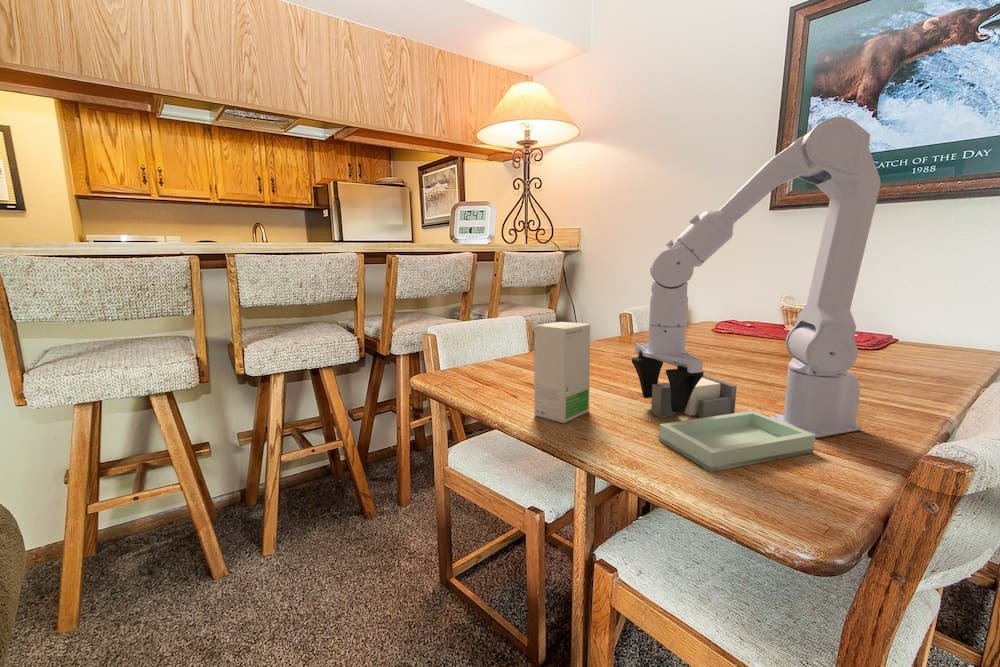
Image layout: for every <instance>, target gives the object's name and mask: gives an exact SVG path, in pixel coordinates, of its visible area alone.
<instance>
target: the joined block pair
mask: <svg viewBox="0 0 1000 667" xmlns="http://www.w3.org/2000/svg"><path fill="white" fill-rule="evenodd" d="M720 385H721V384H720V383H717V382H714V381H711V380H708V379H705V378H701V379H700V380H699V382H698V383H697V385H696V386H695V388H694V390H693V392H692V394H691V396H690V399H689V401H688V404H687V407H686V410H685V412H683V413H681V412H677V414H684V413H685V415H686V414H687V415H686V416H688V415H689V417H692V416H691V415H693V416H698V413H699V400H702V399H710V398H718V397H720ZM650 407H651V408H650V410H651V411H650V413H651V412H652V413H651V414H653V413H654V414H653V415H655V414H656V415H655V416H657V415H658V416H660V417H659V418H664V417H663V416H666V417H671V416H670V415H673V416H676V414H675V413H674V412H672V409H671V390H670V384H669V382H663V383H658V384H652V398H651V406H650ZM658 416H657V417H658Z"/></svg>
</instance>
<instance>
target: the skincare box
mask: <svg viewBox="0 0 1000 667" xmlns="http://www.w3.org/2000/svg"><path fill="white" fill-rule="evenodd" d="M533 335H534V336H533V338H534V342H533V344H534V346H533V347H534V348H533V349H534V350H533V353H534V354H533V356H534V358H533V360H534V362H533V363H534V364H533V368H534V373H533V375H534V385H533V386H534V388H533V390H534V394H533V395H534V396H533V397H534V399H533V400H534V404H533V406H534V407H533V408H534V409H533V412H534V414H533V415H534V416H535V417H539V418H542V419H545V420H549V421H553V422H556V423H560V424H565V423H568V422H570V421H572V420H575V419H577V418H578V417H581V416H583V415H585V414H587V413H590V378H591V377H590V376H591V375H590V374H591V373H590V372H591V371H590V369H591V368H590V366H591V363H590V362H591V360H590V359H591V324H590V323H585V322H584V323H583V322H569V321H558V322H557V321H556V322H549V323H547V322H546V323H541V324H535V325H534V326H533Z"/></svg>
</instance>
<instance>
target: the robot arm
mask: <svg viewBox="0 0 1000 667" xmlns="http://www.w3.org/2000/svg"><path fill="white" fill-rule="evenodd" d="M870 140H871V134H870V133H869V131H867V130H866V129H864V128H863V127H862V126H861V125H860V124H858V123H857V122H856V121H854V120H853V119H851V118H847V117H844V116H843V117H842V116H835V117H830V118H827V119H825V120H822V121H821V122H820V123H818V124H817V125H815V126H814V128H813V129H811V130H810V131H809V132H807V133H806V134H804V135H802V136H801V137H799V138H796V140H793V142H792V143H791V144H790V145H789V146H788V147H787V148H784V150H781V152H779V153H778V154H776V155H775V156H774V157H772V158H770V159H769V160H768V161H767V162H764V164H763V165H762V166H761V167H760V168H759V169H758V170H757V171H756V172H755V173H754V174H753V175H752V176H751V177H750V178H749V179H748V180H747V181H746V182H745V183H744V184H743V185H742V186H741V187H740V188H739V189H737V191H736V192H735V193H734V194H733V195H732V196H731V197H730V198H729V199H728V200H727V201H725V203H724V204H723V205H722V206H721V207H720V208H719V209H718V210H707V211H703V212H702V213H701V214H700V215H698V214H695V215H694V216H693V217H692V218H691V219H689V221H688V222H689V223H690V225H688V226H687V228H685V229H684V231H682V232H681V233H680V234H679V235H678V236H677V237H676V238H675V239H674V240H669V241H668V242H667V243H666V244H665V245H666V246H667V248H668V249H666V250H663V251H661V252H660V253H659V254H658V255H657V256H655V258H654V259H653V260H652V264H651V265H650V266H651V267H650V268H649V269H650V270H649V272H650V275H651V278H652V279H653V281H652V284H651V291H650V292H651V294H652V295H651V296H650V298H649V300H650V301H649V319H648V320H649V321H648V341H647V342H636V343H635V344H634V345H635V346H634V354H635V355H637V357H632V358H631V364H632V365H633V366H634V368H635V372H636V374H637V376H638V379H639V384H640V388H641V393H642V397H643V398H644V399H652V384H659V377H660V373H661V370H662V367H663V364H664V363H666V364H667V365H671V366H674V367H676V368H671V369H665V374H666V377H667V379H668V383H669V384H670V390H671V409H672V412H674V413H677V412H685V410H686V407H687V404H688V401H689V399H690V396H691V394H692V392H693V390H694V388H695V386H696V385H697V383H698V382H699V380H700V379H701V378H702V377H703V375H705V373H704V370H703V365H704V359H702V358H699V357H696V356H694V355H693V354H691V353H689V352H687V351H685V350H686V339H687V337H686V336H687V322H688V320H687V319H688V307H689V306H688V305H689V304H688V303H689V296H688V285H689V284H688V282H689V281H690V280H691V278H692V276H693V274H694V269H695V268H697V267H698V268H699V267H701V266H702V265H703V264H704V263H705V262H707V260H709V259H710V258H711V257H712V256H713V255H714V254H716V252H717V251H719V250H720V249H721V248H722V247H723V246H724V245H725V244H726V243H727V242H729V241H730V240H731V239H732V237H733V234H734V233H733V230H734V224H735V223H737V222H738V221H739V220H740V219H741V218H742V217H743V216H744V215H745V214H747V213H748V212H749V211H750V210H751V209H752V208H754V207H755V206H756V205H758V203H759V202H760V201H762V200H763V199H764V198H765V197H766V196H768V194H770V193H771V192H772V191H773V190H774V189H776V188H777V187H778V186H779V185H782V184H785V183H789V182H791V181H793V180H795V179H797V178H798V179H799V180H802V181H805V182H807V183H809V184H811V185H815V187H817V188H818V189H819V190H820V191H821V192H822V193H823V194H824V195H825V196H827V197H828V199H829V203H828V207H827V213H826V215H825V216H826V217H825V220H824V225H823V230H822V233H821V234H822V235H821V239H820V242H819V246H818V248H819V249H818V252H817V257H816V261H815V265H814V270H813V274H812V280H811V282H810V283H811V284H810V288H809V292H808V297H807V302H806V305H805V306H804V307H803V308H802V309H801V311H800V312H799V313H798V315H797V319H796V323H795V325H794V326H793V328H791V330H790V331H789V332H788V333H787V335H786V338H785V348H786V351H787V352H788V353H789V355H790V356H791V360H790V361H789V363H788V366H787V377H786V385H785V387H786V388H785V395H784V396H785V398H784V408H783V414H779V415H771V416H769V417H770V418H773V419H775V420H778V421H781V422H783V423H786V424H788V425H791V426H794V427H796V428H799V429H801V430H804V431H807V432H809V433H812V434H814V435H815V438H822V437H823V438H824V437H828V436H829V437H830V436H833V435H834V436H835V435H841V434H844V433H845V434H847V433H851V432H857V431H861V430H862V429H863V426H861V425H859V424H857V418H858V411H859V410H858V409H859V403H860V396H861V395H860V394H861V385H860V381H859V380H858V378H857V376H856V375H854V373H853V372H851V371H850V370H849V369H851V368H852V367H853V366H854V364H855V363H856V361H857V359H858V356H859V350H858V345H857V342H856V339H855V335H856V330H857V324H856V322H855V320H854V318H853V315H852V313H851V312H852V311H851V306H852V303H853V299H854V295H855V291H856V288H857V287H856V286H857V283H858V279H859V274H860V271H861V266H862V261H863V258H864V255H865V254H864V253H865V251H866V250H865V249H866V246H867V242H868V237H869V234H870V229H871V226H872V225H871V224H872V221H873V216H874V215H875V214H874V213H875V208H876V205H877V200H878V197H879V192H880V188H881V176H880V175H879V172H878V169H877V166H876V163H875V160H874V157H873V156H872V153H871V150H870V143H871V142H870ZM677 414H678V413H677Z"/></svg>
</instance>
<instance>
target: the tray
mask: <svg viewBox="0 0 1000 667" xmlns="http://www.w3.org/2000/svg"><path fill="white" fill-rule="evenodd" d="M658 432H659V437H658V441H659V442H661V443H662V442H663V443H662V444H664V445H666V446H667V447H669V448H671V449H672V450H673V451H676V452H677V453H679V454H680V455H682V456H683V457H686V458H687V459H688V460H691V461H692V462H694V463H695V464H697V465H699V466H700V467H701V468H704V469H705V470H707V471H708V472H710V473H713V472H718V471H724V470H729V469H734V468H735V469H736V468H739V467H745V466H749V465H754V464H760V463H767V462H771V461H775V460H776V459H777V460H782V459H786V458H791V456H792V457H795V456H796V455H797V456H802V455H801V454H803V455H807V453H808V454H811V453H812V452H813V453H814V450H815V442H816V437H815V435H814V434H812V433H809V432H807V431H804V430H801V429H799V428H796V427H794V426H791V425H788V424H786V423H783V422H781V421H778V420H775V419H773V418H770V416H767V415H764V414H762V413H759V412H758V411H755V410H750V411H742V412H735V413H733V414H726V415H719V416H713V417H706V418H699V417H698V418H693V419H686V420H680V421H673V422H666V423H660V424H659V431H658ZM797 456H796V457H797Z"/></svg>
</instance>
